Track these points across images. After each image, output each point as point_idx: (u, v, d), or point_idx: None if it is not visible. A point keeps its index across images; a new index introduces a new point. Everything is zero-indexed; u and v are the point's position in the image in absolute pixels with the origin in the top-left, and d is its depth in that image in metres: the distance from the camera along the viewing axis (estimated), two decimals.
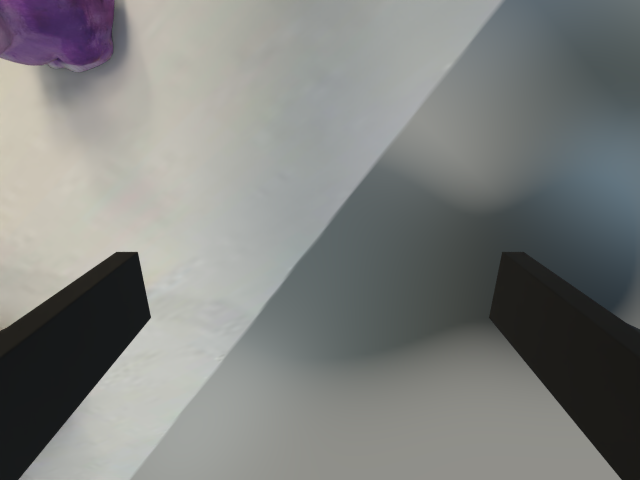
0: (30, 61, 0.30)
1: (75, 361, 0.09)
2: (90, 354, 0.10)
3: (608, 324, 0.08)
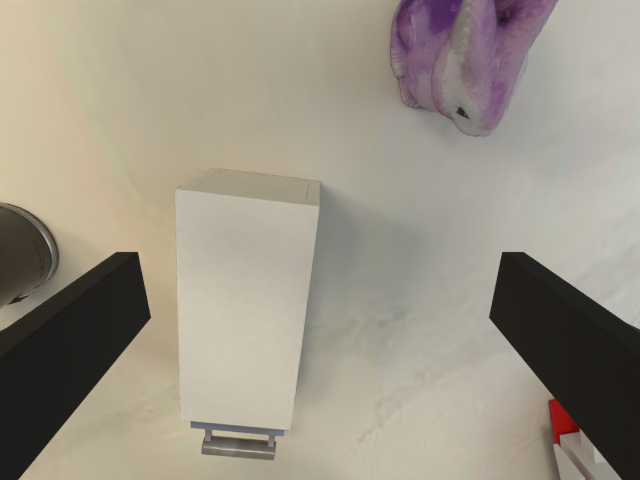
0: None
1: (75, 361, 0.09)
2: (90, 354, 0.10)
3: (608, 324, 0.08)
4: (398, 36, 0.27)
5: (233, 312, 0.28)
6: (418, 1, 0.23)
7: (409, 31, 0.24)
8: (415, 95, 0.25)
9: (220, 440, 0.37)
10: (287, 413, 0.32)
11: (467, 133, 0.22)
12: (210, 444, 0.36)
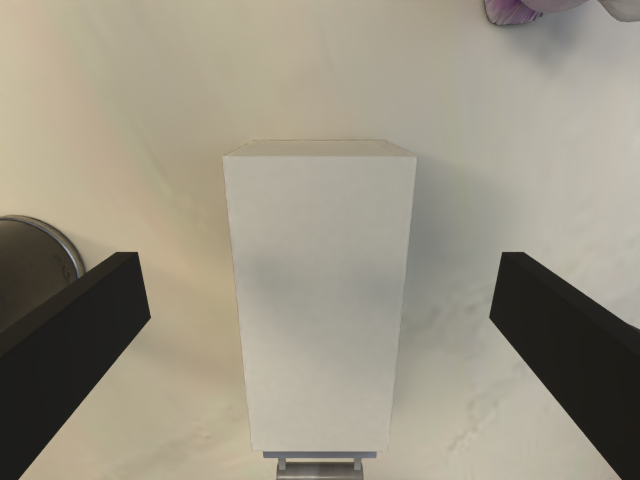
0: None
1: (75, 361, 0.09)
2: (90, 354, 0.10)
3: (608, 324, 0.08)
4: None
5: (309, 312, 0.22)
6: None
7: None
8: None
9: (296, 467, 0.31)
10: (383, 431, 0.25)
11: (632, 16, 0.15)
12: (286, 473, 0.31)
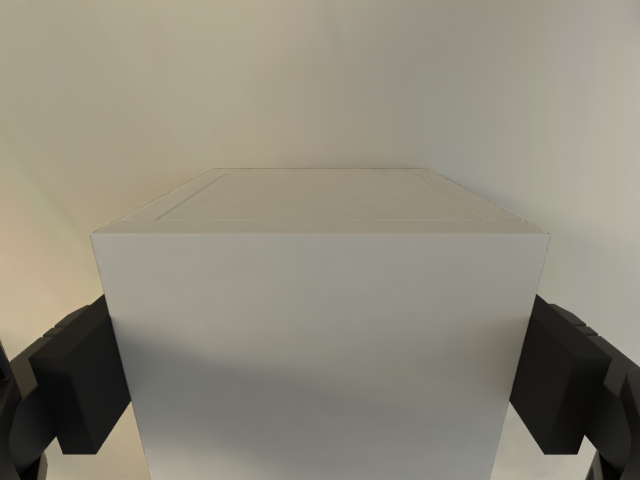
0: None
1: None
2: None
3: None
4: None
5: None
6: None
7: None
8: None
9: None
10: None
11: None
12: None
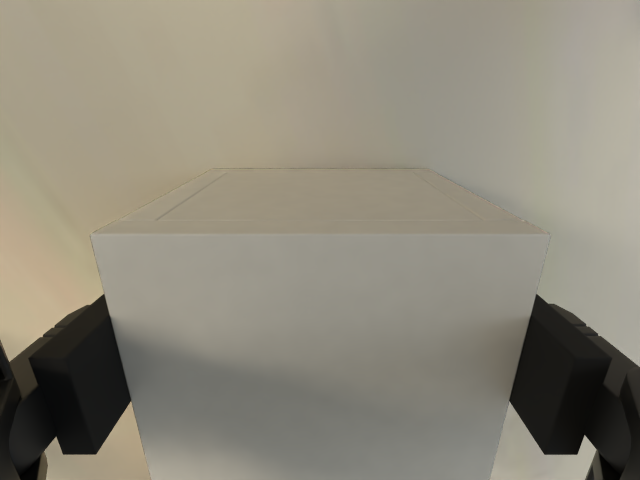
0: None
1: None
2: None
3: None
4: None
5: None
6: None
7: None
8: None
9: None
10: None
11: None
12: None
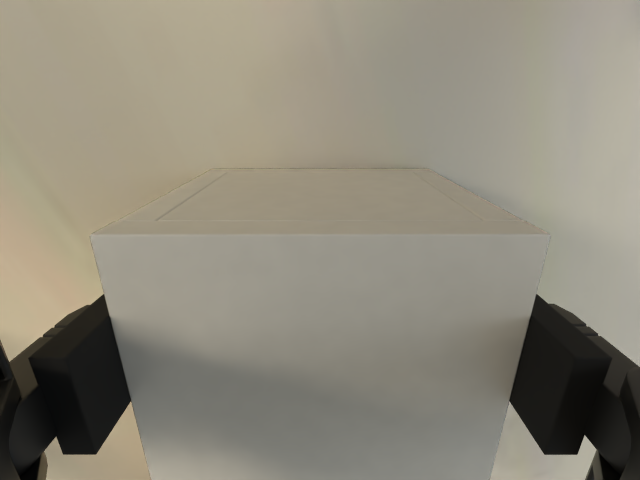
0: None
1: None
2: None
3: None
4: None
5: None
6: None
7: None
8: None
9: None
10: None
11: None
12: None
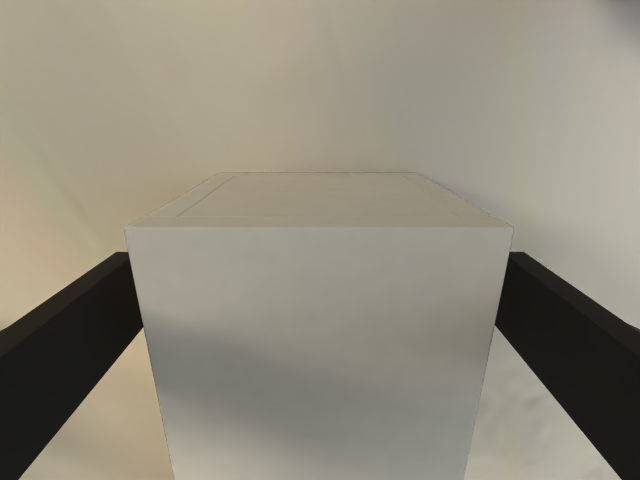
0: None
1: (75, 362, 0.09)
2: (90, 354, 0.10)
3: (608, 324, 0.08)
4: None
5: None
6: None
7: None
8: None
9: None
10: None
11: None
12: None
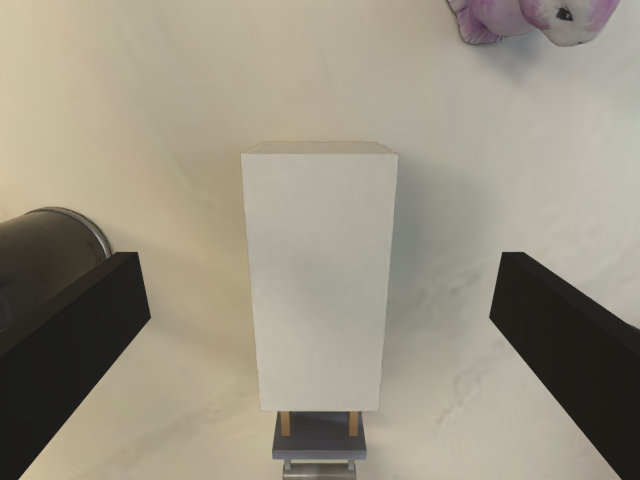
0: None
1: (76, 362, 0.09)
2: (90, 354, 0.10)
3: (608, 324, 0.08)
4: None
5: (310, 285, 0.26)
6: None
7: None
8: (488, 19, 0.23)
9: (299, 467, 0.37)
10: (374, 393, 0.29)
11: (565, 43, 0.20)
12: (290, 472, 0.36)
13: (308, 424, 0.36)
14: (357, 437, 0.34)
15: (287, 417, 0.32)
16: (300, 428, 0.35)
